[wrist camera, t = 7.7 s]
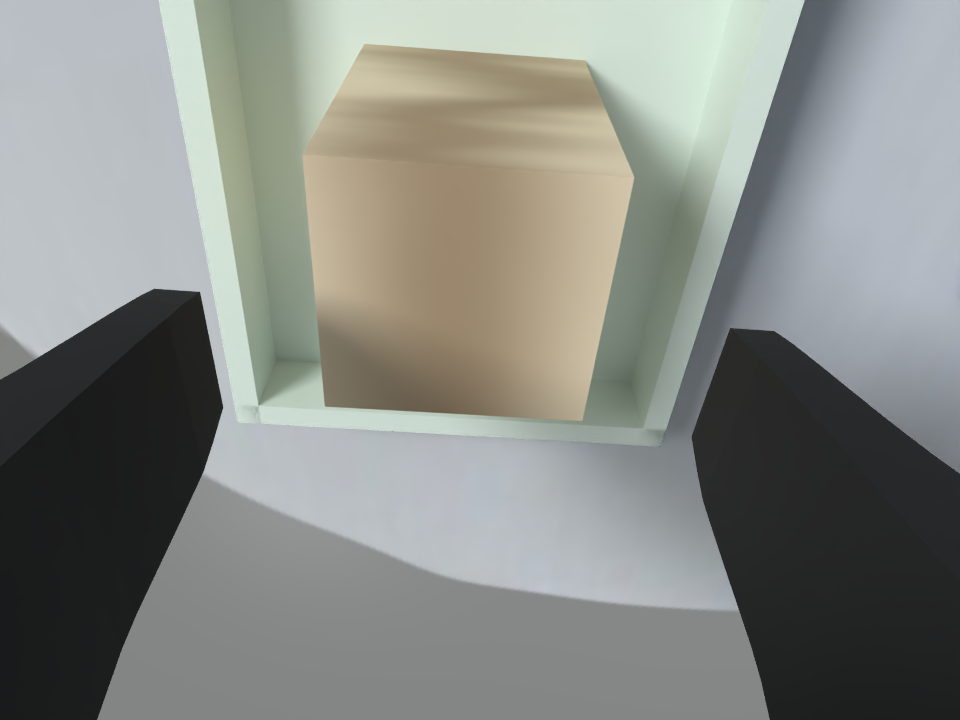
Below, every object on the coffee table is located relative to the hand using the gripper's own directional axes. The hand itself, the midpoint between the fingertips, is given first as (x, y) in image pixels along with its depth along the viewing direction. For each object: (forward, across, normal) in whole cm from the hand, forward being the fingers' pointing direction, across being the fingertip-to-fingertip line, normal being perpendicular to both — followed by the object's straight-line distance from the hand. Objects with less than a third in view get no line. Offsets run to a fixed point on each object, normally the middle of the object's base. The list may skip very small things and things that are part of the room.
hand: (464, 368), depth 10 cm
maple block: (+7, 0, 0) cm, 7 cm away
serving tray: (+8, 0, 0) cm, 8 cm away
